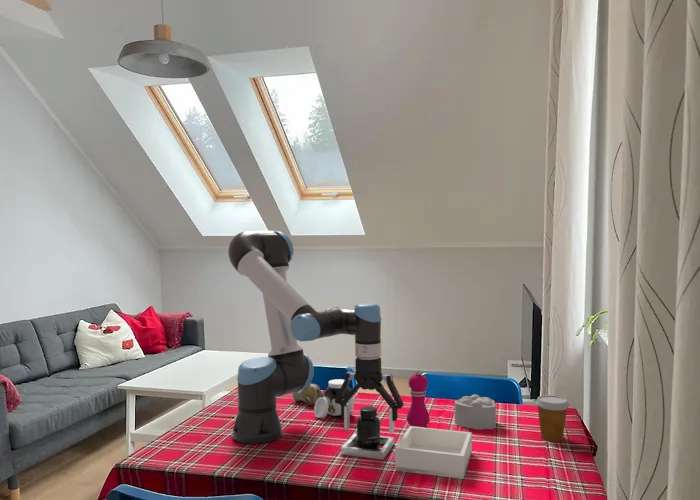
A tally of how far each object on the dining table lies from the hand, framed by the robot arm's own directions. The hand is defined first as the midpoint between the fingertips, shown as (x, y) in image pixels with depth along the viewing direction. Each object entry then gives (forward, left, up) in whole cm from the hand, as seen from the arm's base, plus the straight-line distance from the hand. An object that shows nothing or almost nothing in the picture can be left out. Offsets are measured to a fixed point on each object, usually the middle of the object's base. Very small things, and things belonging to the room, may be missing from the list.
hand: (369, 429), depth 169 cm
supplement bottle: (0, 0, -6) cm, 6 cm away
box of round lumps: (+27, +32, -6) cm, 42 cm away
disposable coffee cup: (+51, +26, -6) cm, 57 cm away
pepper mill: (+11, +18, -6) cm, 22 cm away
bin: (+20, -3, -6) cm, 21 cm away
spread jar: (-20, +25, -6) cm, 33 cm away
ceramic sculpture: (-34, +37, -6) cm, 50 cm away
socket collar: (0, 0, -6) cm, 6 cm away
